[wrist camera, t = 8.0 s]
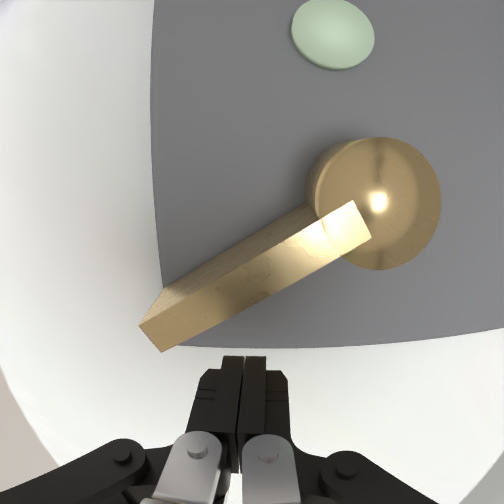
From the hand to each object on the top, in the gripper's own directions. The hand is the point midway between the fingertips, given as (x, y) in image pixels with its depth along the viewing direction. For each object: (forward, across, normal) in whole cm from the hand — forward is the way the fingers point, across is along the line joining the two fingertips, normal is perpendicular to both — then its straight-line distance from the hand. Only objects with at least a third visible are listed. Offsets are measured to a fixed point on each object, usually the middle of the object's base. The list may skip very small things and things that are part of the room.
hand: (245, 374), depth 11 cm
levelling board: (+8, -12, -11) cm, 18 cm away
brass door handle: (+6, -1, -3) cm, 7 cm away
